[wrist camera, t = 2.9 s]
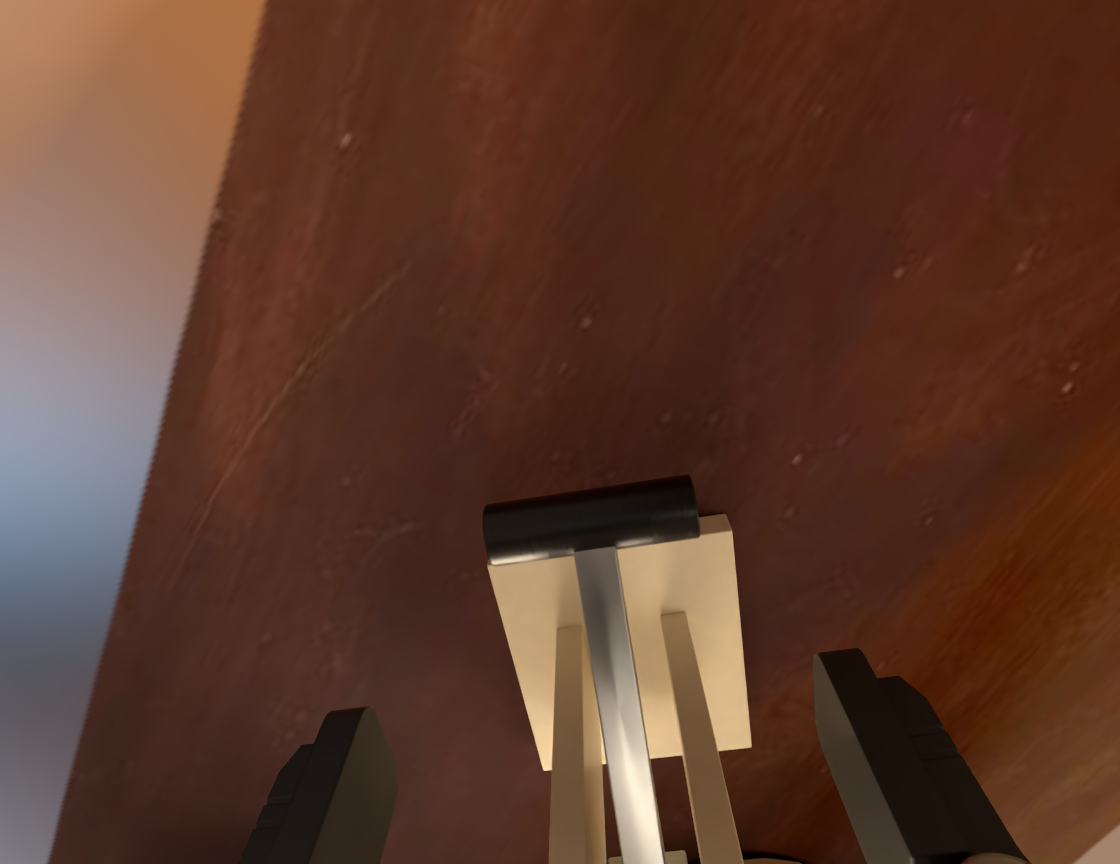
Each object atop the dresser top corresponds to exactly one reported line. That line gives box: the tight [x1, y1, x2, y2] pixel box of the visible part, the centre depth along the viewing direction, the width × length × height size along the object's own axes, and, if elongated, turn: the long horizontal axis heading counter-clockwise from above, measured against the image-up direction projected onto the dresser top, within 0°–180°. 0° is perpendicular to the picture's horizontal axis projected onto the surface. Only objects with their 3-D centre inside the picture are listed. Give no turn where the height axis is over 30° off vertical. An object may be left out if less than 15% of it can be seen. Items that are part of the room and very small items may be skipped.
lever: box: [483, 475, 700, 864], centre depth 18 cm, size 13×6×2 cm, turn 10°
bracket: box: [487, 514, 752, 864], centre depth 22 cm, size 11×9×13 cm
